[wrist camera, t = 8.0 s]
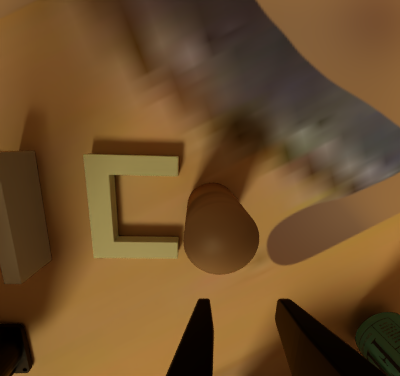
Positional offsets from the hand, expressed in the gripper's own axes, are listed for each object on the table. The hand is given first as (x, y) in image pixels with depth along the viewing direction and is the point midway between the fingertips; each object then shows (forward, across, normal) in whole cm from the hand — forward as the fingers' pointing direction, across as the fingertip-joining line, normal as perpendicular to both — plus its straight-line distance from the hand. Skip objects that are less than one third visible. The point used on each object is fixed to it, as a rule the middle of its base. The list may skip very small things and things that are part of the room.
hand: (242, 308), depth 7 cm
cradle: (+12, +7, 0) cm, 14 cm away
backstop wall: (+12, +17, 0) cm, 21 cm away
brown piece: (+12, 0, 0) cm, 12 cm away
